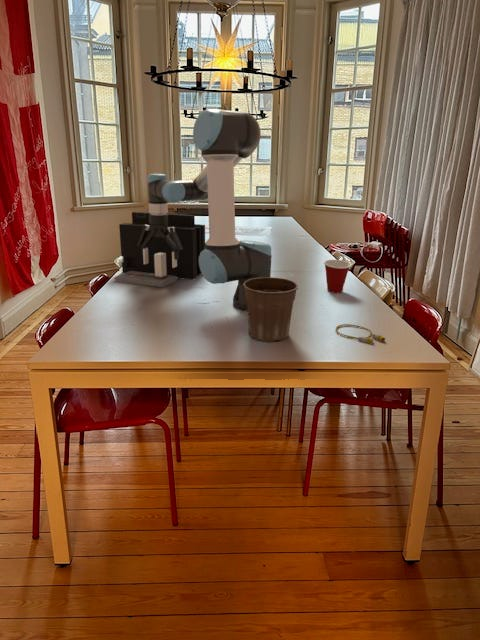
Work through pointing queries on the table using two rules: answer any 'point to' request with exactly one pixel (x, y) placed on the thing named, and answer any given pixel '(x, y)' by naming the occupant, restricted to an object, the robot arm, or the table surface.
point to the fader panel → (145, 279)
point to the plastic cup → (336, 274)
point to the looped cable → (363, 339)
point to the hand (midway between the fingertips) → (160, 265)
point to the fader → (160, 265)
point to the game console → (163, 245)
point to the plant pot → (269, 307)
